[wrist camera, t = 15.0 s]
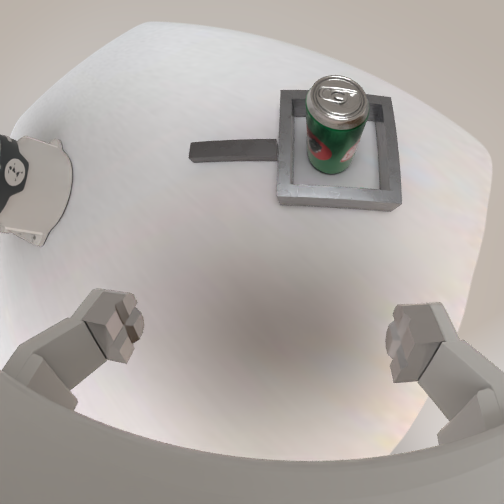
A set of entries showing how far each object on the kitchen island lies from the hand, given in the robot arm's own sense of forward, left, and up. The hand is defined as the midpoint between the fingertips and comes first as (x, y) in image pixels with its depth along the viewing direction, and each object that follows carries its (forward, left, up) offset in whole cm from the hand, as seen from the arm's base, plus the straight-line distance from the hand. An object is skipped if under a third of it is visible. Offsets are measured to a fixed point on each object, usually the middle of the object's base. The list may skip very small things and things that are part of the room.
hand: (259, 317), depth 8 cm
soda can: (+3, +14, -22) cm, 26 cm away
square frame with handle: (-1, +14, -22) cm, 26 cm away
